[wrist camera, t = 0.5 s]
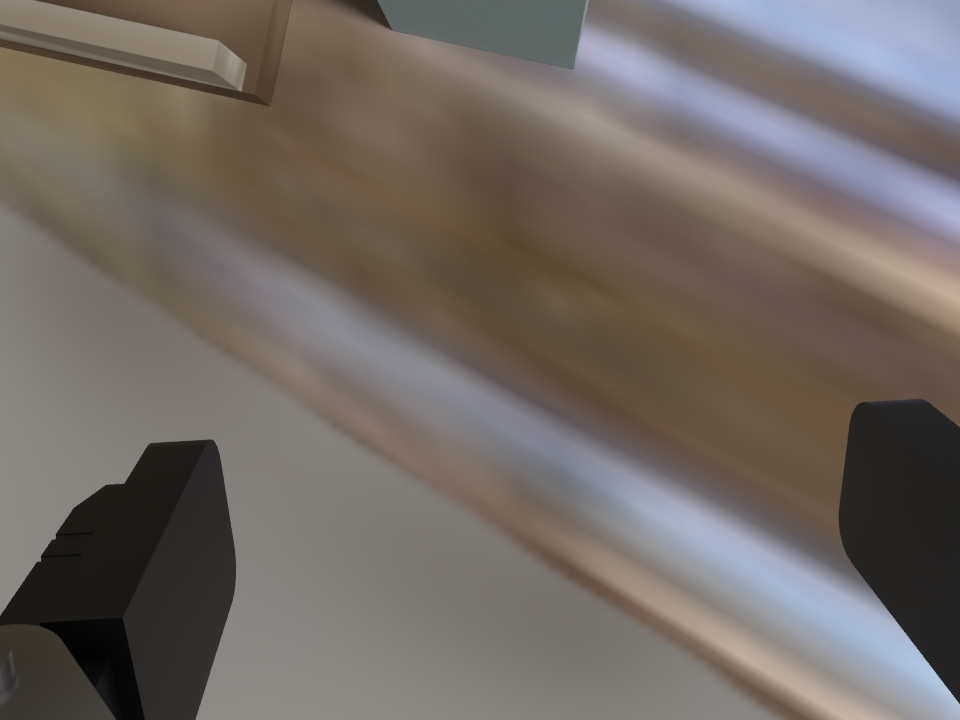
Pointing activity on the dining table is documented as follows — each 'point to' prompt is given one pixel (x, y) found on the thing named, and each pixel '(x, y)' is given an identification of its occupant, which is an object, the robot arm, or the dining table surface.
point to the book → (496, 25)
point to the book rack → (159, 39)
